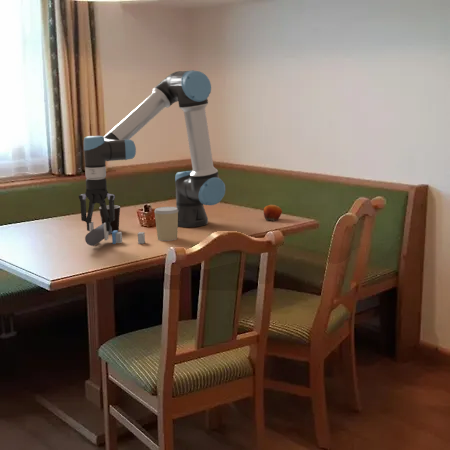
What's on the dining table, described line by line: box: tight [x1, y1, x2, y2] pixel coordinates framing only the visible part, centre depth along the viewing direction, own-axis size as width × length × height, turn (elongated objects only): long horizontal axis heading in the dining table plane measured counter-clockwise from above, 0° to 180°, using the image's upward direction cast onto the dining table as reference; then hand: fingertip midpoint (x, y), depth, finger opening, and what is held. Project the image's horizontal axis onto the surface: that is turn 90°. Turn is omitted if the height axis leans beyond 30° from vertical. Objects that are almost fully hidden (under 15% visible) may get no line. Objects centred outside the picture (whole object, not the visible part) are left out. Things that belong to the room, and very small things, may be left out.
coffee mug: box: [98, 204, 121, 233], centre depth 279 cm, size 12×9×10 cm
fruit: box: [263, 204, 283, 222], centre depth 292 cm, size 8×8×8 cm
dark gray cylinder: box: [84, 223, 112, 247], centre depth 251 cm, size 5×17×5 cm, turn 173°
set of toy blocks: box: [111, 230, 146, 245], centre depth 256 cm, size 21×3×5 cm, turn 82°
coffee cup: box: [154, 206, 179, 242], centre depth 261 cm, size 9×9×12 cm
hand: (99, 239), depth 251 cm, fingers closed on dark gray cylinder, 5 cm apart
